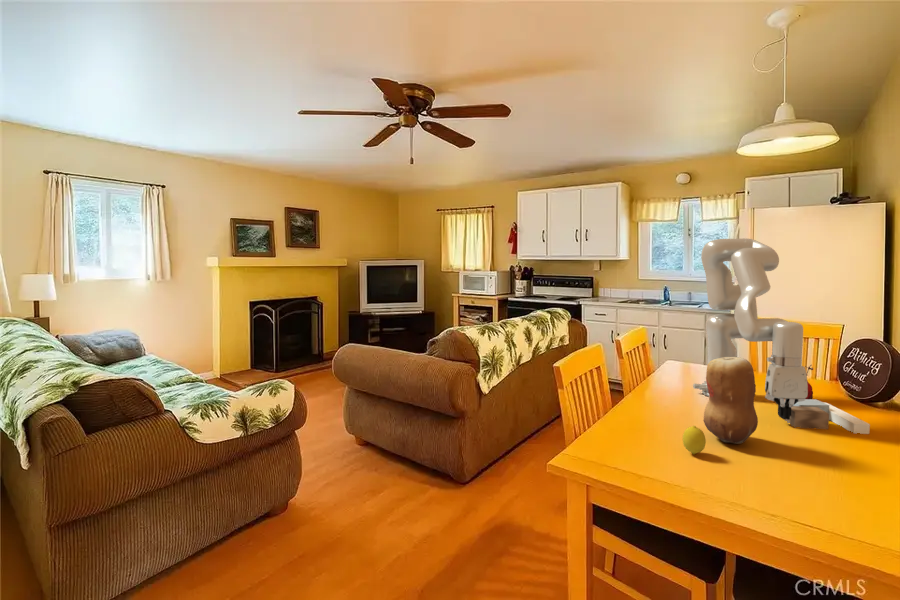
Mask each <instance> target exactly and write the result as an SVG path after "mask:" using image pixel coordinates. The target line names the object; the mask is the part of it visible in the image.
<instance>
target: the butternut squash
mask: <svg viewBox="0 0 900 600" xmlns="http://www.w3.org/2000/svg"><path fill="white" fill-rule="evenodd" d="M755 380H756V378H755V371H754V367H753V365H752V363H751V362H750V361H749V360H748V359H746V358H744V357H724V358H718V359H714V360H712V361H710V362H709V364H708V363H707V366H706V372H705V381H706V382H707V387H708V392H709V396H708V400H707V403H706V405H705V408H704V411H703V420H702V421H703V424H704V425H705V427H706V429H707V430H708V431H709V432H710V433H712V435H714V436H715V437H716V438H718V439H719V440H720V441H722V442H723V443H729V444H735V445H736V444H744V443H745V442H746V441H747V440H748V439H749V438H750V437H751V435H752V434H753V433H755V431H756V430H757V427H758V424H759V420H758V418H759V417H758V415H757V412H756V409H755V403H754V402H755V401H754V400H755V395H756V392H757V391H756V390H757V389H756V388H757V387H756V386H757V385H756V381H755Z"/></svg>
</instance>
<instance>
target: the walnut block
mask: <svg viewBox="0 0 900 600" xmlns="http://www.w3.org/2000/svg"><path fill="white" fill-rule="evenodd" d="M784 421H785V422H786V421H787V422H786V423H787V424H789V423H790V424H791V425H790V424H789V425H790V426H791V427H793V426H794V427H793V428H796V427H800V429H801V428H803V429H814V428H816V429H818V430H829V421H830V420H829V413H827V412H825V411H823V410H822V409H820V408H818V407H802V406H793V407H792V408H791V416H790V420H787V419H786V420H784Z"/></svg>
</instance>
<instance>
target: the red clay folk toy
mask: <svg viewBox="0 0 900 600" xmlns="http://www.w3.org/2000/svg"><path fill="white" fill-rule="evenodd" d="M804 367H805V368H806V369H807V370H806V375H807V376H808V373H809V370H811V371H814V367H812V364H810V365H809V366H806V365H804ZM807 384H808V395H807V397H806V398H805V399H814V396H813V395H814V391H813V386H812V384H811V383H809V381H808V379H807Z"/></svg>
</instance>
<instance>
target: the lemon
mask: <svg viewBox="0 0 900 600" xmlns="http://www.w3.org/2000/svg"><path fill="white" fill-rule="evenodd" d="M706 442H707V440H706V435H705V432H704V431H702V429H701V428H699V427H697V426H696V425H692V426H689V427H687V428H686V429H684V431H683V434H682V443H683V446H684V448H685V450H687V451H688V452H690V453H691V454H692V455H696V454H697V453H702V452H703V450H704V449H705V447H706Z"/></svg>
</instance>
